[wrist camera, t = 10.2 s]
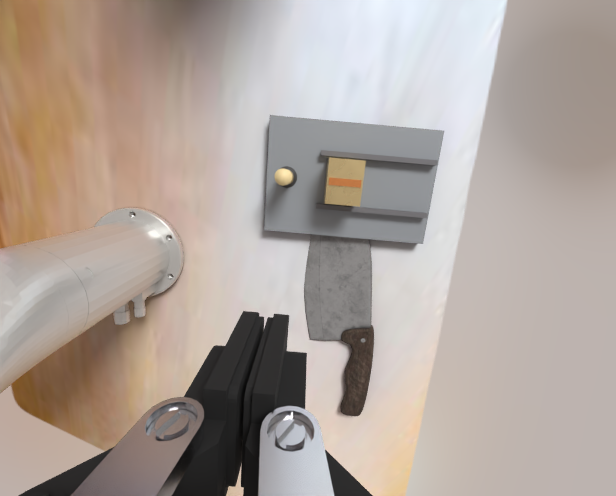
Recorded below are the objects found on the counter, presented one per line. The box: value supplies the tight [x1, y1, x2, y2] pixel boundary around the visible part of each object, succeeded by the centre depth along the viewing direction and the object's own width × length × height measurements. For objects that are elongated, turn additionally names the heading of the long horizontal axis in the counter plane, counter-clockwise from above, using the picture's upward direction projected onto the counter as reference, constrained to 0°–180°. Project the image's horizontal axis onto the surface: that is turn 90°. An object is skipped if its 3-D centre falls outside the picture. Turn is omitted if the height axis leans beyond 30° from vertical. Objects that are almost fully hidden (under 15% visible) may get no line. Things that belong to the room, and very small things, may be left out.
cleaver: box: [304, 234, 374, 416], centre depth 42 cm, size 29×10×2 cm, turn 4°
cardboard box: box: [323, 157, 366, 207], centre depth 33 cm, size 5×4×4 cm
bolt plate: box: [264, 115, 444, 244], centre depth 34 cm, size 14×21×6 cm, turn 85°
